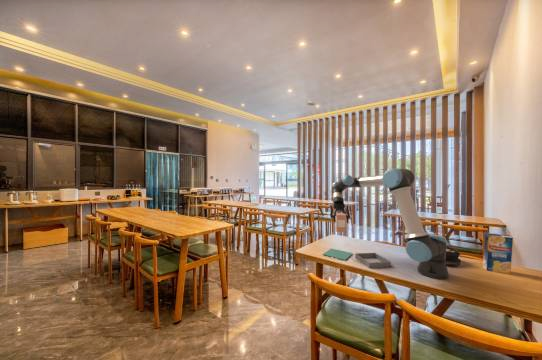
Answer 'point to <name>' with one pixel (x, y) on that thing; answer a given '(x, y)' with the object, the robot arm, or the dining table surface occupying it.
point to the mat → (338, 254)
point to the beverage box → (497, 253)
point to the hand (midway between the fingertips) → (341, 226)
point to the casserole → (452, 256)
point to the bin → (372, 265)
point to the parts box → (341, 222)
